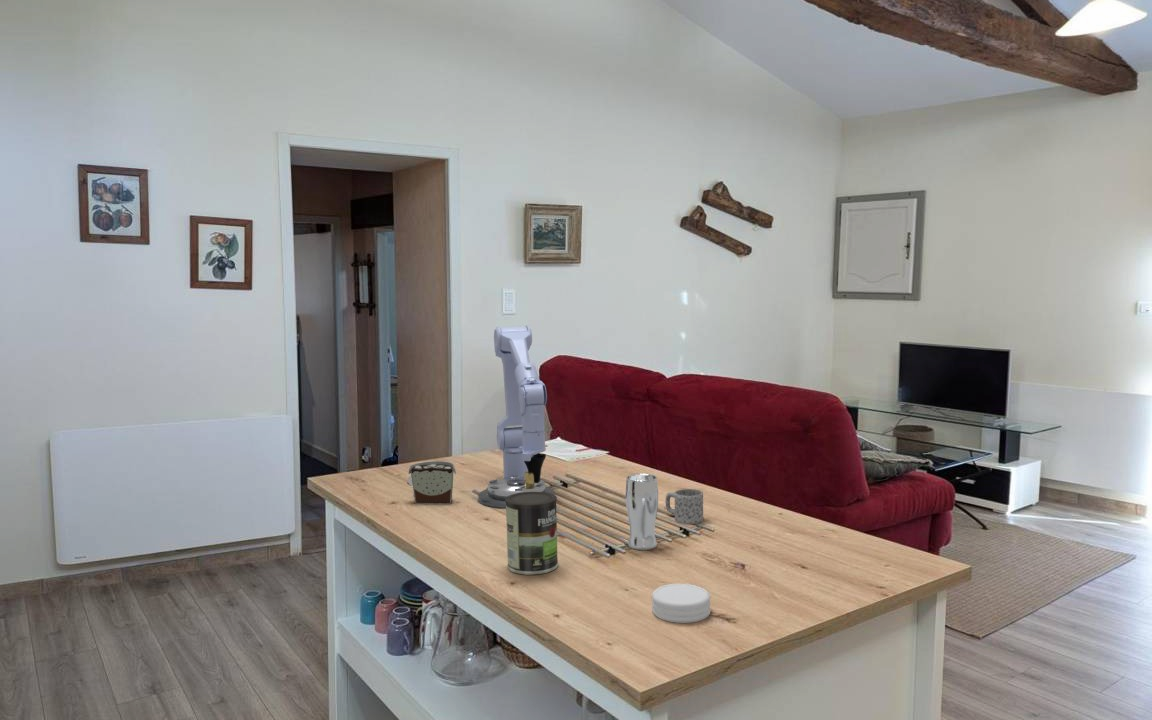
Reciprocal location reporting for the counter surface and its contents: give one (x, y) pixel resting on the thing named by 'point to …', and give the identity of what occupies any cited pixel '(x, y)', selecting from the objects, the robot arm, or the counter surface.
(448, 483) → the food container
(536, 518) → the coffee can
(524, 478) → the lugged hub disc
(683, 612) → the white round lid
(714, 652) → the counter surface
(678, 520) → the mug
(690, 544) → the counter surface
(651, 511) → the beer glass
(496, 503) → the dark grey flat disc
